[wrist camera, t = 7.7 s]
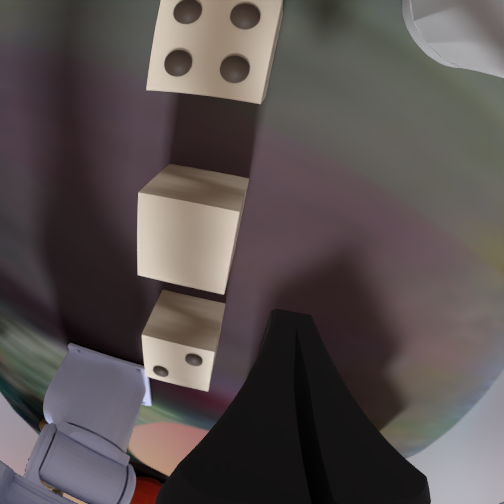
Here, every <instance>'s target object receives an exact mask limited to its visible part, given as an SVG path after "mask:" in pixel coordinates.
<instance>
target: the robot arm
mask: <svg viewBox="0 0 504 504" xmlns="http://www.w3.org/2000/svg"><path fill="white" fill-rule="evenodd" d="M68 348H69V351H68V353H67V355H66V357H65V358H64V360H63V362H62V364H61V365H60V367H59V369H58V371H57V372H56V374H55V376H54V378H53V380H52V382H51V383H50V385H49V387H48V389H47V392H46V395H45V399H44V404H43V411H44V416H45V419H46V421H47V422H48V423H49V424H45V425H44V427H43V429H42V431H41V433H40V435H39V437H38V440H37V442H36V444H35V446H34V448H33V451H32V453H31V455H30V458H29V460H28V463H27V466H26V467H27V468H26V471H25V473H24V476H23V477H22V476H20V475H18V474H17V473H15V472H14V471H13V470H12V469H11V468H10V467H9V466H7V465H6V464H5V463H3V462H2V461H0V504H77V503H75V502H73V501H71V500H69V499H67V498H65V497H63V496H61V495H59V494H57V493H55V492H53V491H51V490H50V489H48V488H46V487H45V486H43V484H42V483H41V481H40V480H42V481H44V482H46V483H47V484H49V485H51V486H53V487H55V488H57V489H58V490H60V491H62V492H64V493H66V494H68V495H71V496H72V497H74V498H77V499H79V500H81V501H83V502H85V503H87V504H129V503H130V501H131V499H132V497H133V494H134V490H135V486H136V475H135V472H134V469H133V467H132V465H130V464H128V462H129V459H130V456H129V455H127V454H126V451H127V447H128V444H129V441H130V438H131V435H132V432H133V429H134V426H135V423H136V420H137V417H138V414H139V411H140V408H141V405H142V404H143V405H146V406H151V405H152V397H151V388H150V379H149V377H147V376H145V367H144V366H142V365H139V364H135V363H132V362H128V361H125V360H121V359H118V358H115V357H112V356H109V355H105V354H102V353H99V352H96V351H93V350H90V349H87V348H84V347H81V346H79V345H76V344H73V343H69V345H68ZM430 503H431V499H430V492H429V486H428V482H427V477H426V476H425V475H424V474H423V473H421V472H420V471H419V470H418V469H416V468H415V467H414V466H413V465H412V464H411V463H409V462H408V461H407V460H406V459H405V458H404V457H403V456H402V455H401V454H400V453H399V452H398V451H397V450H396V449H395V448H394V447H393V446H392V445H391V444H390V443H389V442H388V441H387V440H386V439H385V438H384V437H383V436H382V434H381V433H380V432H379V431H378V430H377V429H376V427H375V426H374V425H373V424H372V423H371V422H370V420H369V419H368V418H367V416H366V415H365V414H364V412H363V411H362V410H361V408H360V407H359V405H358V404H357V402H356V401H355V399H354V398H353V396H352V395H351V393H350V392H349V390H348V388H347V387H346V385H345V383H344V382H343V380H342V378H341V376H340V375H339V373H338V371H337V369H336V367H335V365H334V363H333V361H332V360H331V358H330V356H329V354H328V352H327V350H326V348H325V345H324V343H323V341H322V339H321V337H320V335H319V332H318V330H317V328H316V325H315V323H314V321H313V318H312V317H311V315H307V314H301V313H296V312H290V311H284V310H279V309H274V310H272V311H271V314H270V317H269V320H268V323H267V327H266V330H265V333H264V336H263V339H262V342H261V346H260V352H259V357H258V359H257V361H256V363H255V365H254V366H253V368H252V370H251V372H250V374H249V376H248V378H247V379H246V381H245V383H244V384H243V386H242V388H241V389H240V391H239V392H238V394H237V396H236V397H235V398H234V400H233V401H232V403H231V404H230V406H229V407H228V408H227V410H226V411H225V413H224V414H223V415H222V417H221V418H220V419H219V420H218V422H217V423H216V424H215V425H214V426H213V428H212V429H211V430H210V431H209V432H208V434H207V435H206V436H205V437H204V438H203V439H202V440H201V442H200V443H199V444H198V445H197V446H196V447H195V448H194V449H193V450H192V451H191V452H190V453H189V454H188V455H187V456H186V457H185V458H184V459H183V460H182V461H181V462H180V463H179V464H178V466H177V467H176V468H175V470H174V471H173V473H172V474H171V475H170V477H169V478H168V479H167V481H166V482H165V483H164V485H163V486H162V488H161V489H160V491H159V493H158V495H157V497H156V501H155V504H430ZM500 504H504V502H502V503H500Z"/></svg>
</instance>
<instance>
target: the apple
mask: <svg viewBox="0 0 504 504" xmlns="http://www.w3.org/2000/svg"><path fill="white" fill-rule="evenodd" d="M161 488H162V485H161V483H160V482H159V481H158V480H156V479H153V478H149V477H142V476H141V477H136V486H135V490H134V494H133V497H132V499H131V501H130V503H129V504H155V501H156V497H157V495H158V493H159V491H160V489H161Z"/></svg>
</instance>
